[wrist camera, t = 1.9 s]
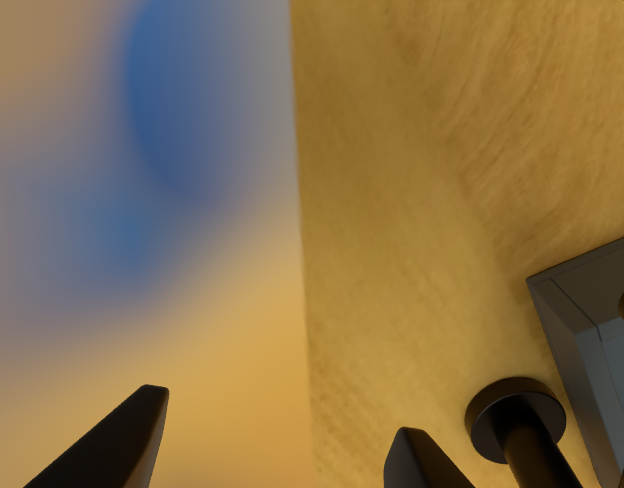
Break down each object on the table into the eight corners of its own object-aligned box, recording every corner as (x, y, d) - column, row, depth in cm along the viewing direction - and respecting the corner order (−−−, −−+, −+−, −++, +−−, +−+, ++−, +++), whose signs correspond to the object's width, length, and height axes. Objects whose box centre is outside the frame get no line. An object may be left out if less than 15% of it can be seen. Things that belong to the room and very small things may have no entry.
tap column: (463, 453, 25) (531, 625, 18) (464, 383, 23) (540, 543, 16) (552, 443, 25) (655, 612, 18) (560, 372, 23) (678, 528, 16)
